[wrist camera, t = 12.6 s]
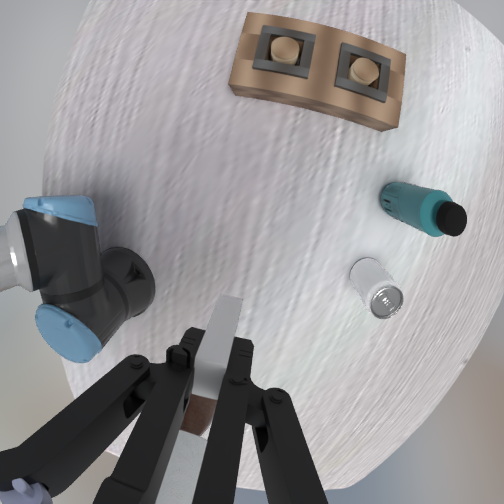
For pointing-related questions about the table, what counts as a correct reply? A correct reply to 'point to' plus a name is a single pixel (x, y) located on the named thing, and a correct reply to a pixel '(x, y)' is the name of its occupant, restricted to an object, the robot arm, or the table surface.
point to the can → (376, 288)
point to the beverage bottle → (424, 209)
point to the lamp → (187, 453)
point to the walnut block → (319, 71)
